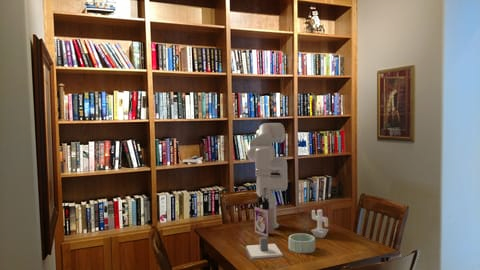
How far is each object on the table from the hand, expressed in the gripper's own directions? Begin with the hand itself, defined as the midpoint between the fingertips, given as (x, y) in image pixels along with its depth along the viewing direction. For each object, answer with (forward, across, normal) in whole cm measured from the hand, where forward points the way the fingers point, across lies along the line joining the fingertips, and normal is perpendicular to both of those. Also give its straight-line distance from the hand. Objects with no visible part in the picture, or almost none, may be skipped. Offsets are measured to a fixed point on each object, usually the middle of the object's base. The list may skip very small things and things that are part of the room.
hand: (263, 207), depth 188 cm
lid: (+22, 0, 0) cm, 23 cm away
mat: (+23, 0, 0) cm, 23 cm away
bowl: (+23, -1, +20) cm, 30 cm away
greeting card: (+23, -29, +7) cm, 38 cm away
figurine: (+23, -18, +36) cm, 46 cm away
